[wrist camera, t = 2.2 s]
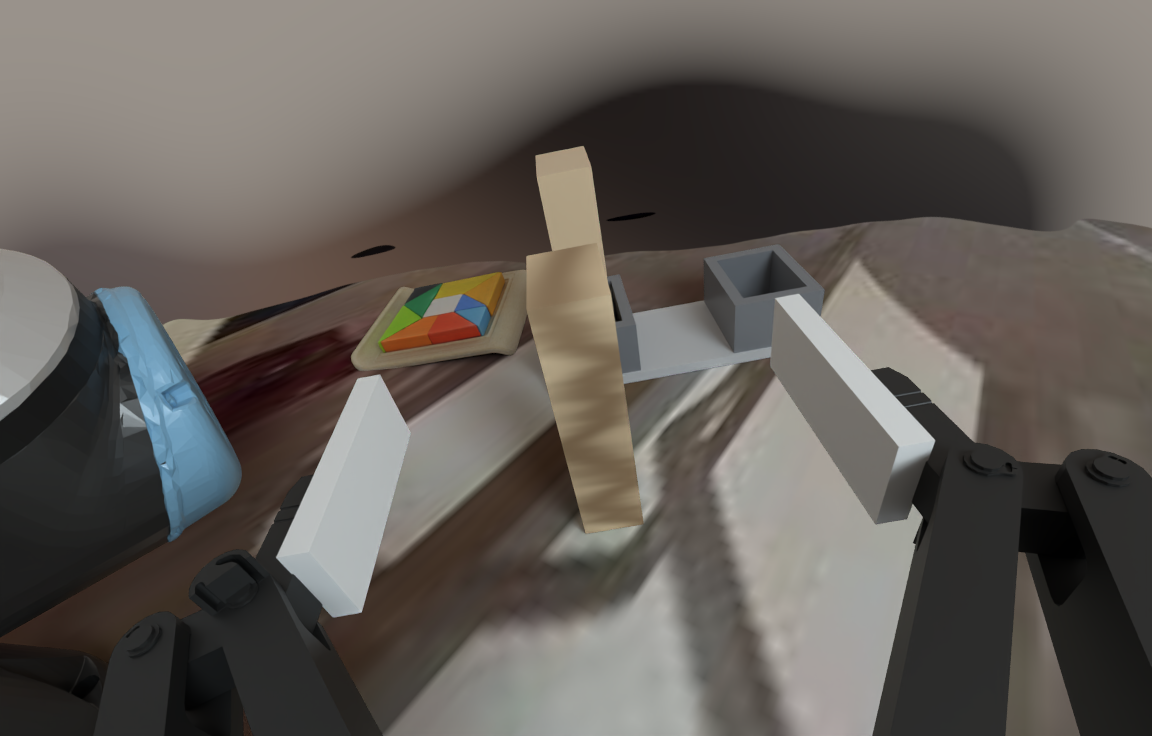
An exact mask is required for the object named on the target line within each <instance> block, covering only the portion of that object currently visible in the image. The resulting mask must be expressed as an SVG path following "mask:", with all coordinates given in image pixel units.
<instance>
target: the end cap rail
mask: <svg viewBox="0 0 1152 736" xmlns="http://www.w3.org/2000/svg"><path fill="white" fill-rule="evenodd" d="M536 170H537V180H538V185H539V190H540V194H541V199H542V204H543V209H544V213H545V218H546V223H547V227H548V232H549V237H550V241H551V247H552V251H556V250H561V249H567V248H572V247H577V246H582V245H588V244H593V243H597V246H598V249H599V253H600V257H601V260H602V264H603V267H604V271H605V274H606V278H607V282H608V285H609V289H610V292H611V297H612V304H613V311H614V318H615V326H616V333H617V340H618V347H619V354H620V361H621V368H622V375H623V382H624V384H626V383H631V382H637V381H642V380H648V379H653V378H659V377H664V376H670V375H675V374H681V373H686V372H692V371H697V370H703V369H708V368H714V367H720V366H725V365H731V364H736V363H742V362H747V361H753V360H758V359H764V358H769V357H771V347H772V333H773V319H774V305H775V298H779V297H784V296H789V295H794V294H800V295H801V296H802V298H803V299H804V300H805V301H806V302H807V303H808V304H809V305H810V306H811V307H812V308H813V309H814V310H815V312H816V313H817V314H818V315H819V316H821V310H822V303H823V297H824V289H823V288H822V287H821V286H820V285H819V284H818V283H817V282H816V281H815V280H814V279H813V278H812V277H811V276H810V275H809V274H808V273H807V272H806V271H805V270H804V269H803V268H802V267H801V266H800V265H799V264H798V263H797V262H796V261H795V260H794V259H793V258H792V257H791V256H790V255H789V254H788V253H787V252H786V251H785V250H784V249H783V248H782V247H781V246H780V245H779V244H777V245H772V246H767V247H762V248H756V249H751V250H746V251H740V252H735V253H730V254H725V255H719V256H714V257H709V258H704V301H698V302H693V303H687V304H682V305H677V306H671V307H666V308H661V309H655V310H650V311H644V312H639V313H634V314H632V311H631V308H630V305H629V302H628V299H627V296H626V293H625V290H624V287H623V284H622V280H621V277H620V274H619V275H614V276H608V277H607V273H606V266H605V259H604V252H603V245H602V238H601V232H600V225H599V218H598V211H597V204H596V197H595V190H594V183H593V177H592V169H591V165H590V162H589V159H588V157H587V154H586V151H585V149H584V146H581V147H577V148H572V149H566V150H561V151H556V152H551V153H546V154H541V155H536Z"/></svg>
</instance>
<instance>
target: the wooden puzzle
mask: <svg viewBox="0 0 1152 736" xmlns="http://www.w3.org/2000/svg"><path fill="white" fill-rule="evenodd" d="M526 303H527V271H526V270H516V271H511V272H506V273H501V272H497V273H492V274H487V275H482V276H477V277H472V278H467V279H463V280H458V281H453V282H448V283H444V284H443V283H440V284H434V285H429V286H424V287H419V288H415V289H411V288H407V287H402V288H399V290H398V291H397V292H396V294H395V295H394V296H393V298H392V299H391V300H390V302H389V303H388V305H387V306H386V307H385V309H384V310H383V311H382V313H381V314H380V315H379V317H378V318H377V320H376V321H375V322H374V324H373V325H372V327H371V328H370V329H369V331H368V332H367V334H366V335H365V336H364V338H363V339H362V341H361V342H360V343H359V345H358V346H357V348H356V349H355V350H354V352H353V353H352V355H351V361H352V363H353V365H354V366H355V368H356V369H358V370H359V371H369V370H381V369H392V368H400V367H408V366H415V365H421V364H427V363H433V362H439V361H445V360H451V359H457V358H464V357H470V356H476V355H482V354H488V353H500V354H505V355H513V354H514V353H515V352H516V350H517V347H518V344H519V341H520V337H521V334H522V331H523V327H524V324H525V321H526V317H527V310H526Z"/></svg>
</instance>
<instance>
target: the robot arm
mask: <svg viewBox="0 0 1152 736" xmlns="http://www.w3.org/2000/svg"><path fill="white" fill-rule="evenodd" d="M770 367H771V368H772V370H773V371H774V373H775V374H776V376H777V377H778V379H779V380H780V382H781V383H782V385H783V386H784V388H785V389H786V391H787V392H788V394H789V395H790V397H791V398H792V400H793V401H794V403H795V404H796V406H797V407H798V409H799V410H800V412H801V413H802V415H803V416H804V418H805V419H806V421H807V422H808V424H809V425H810V427H811V428H812V430H813V431H814V433H815V434H816V436H817V437H818V439H819V440H820V442H821V443H822V445H823V446H824V448H825V449H826V451H827V452H828V454H829V455H830V457H831V458H832V460H833V461H834V463H835V464H836V466H837V467H838V469H839V470H840V472H841V473H842V475H843V476H844V478H845V479H846V481H847V482H848V484H849V485H850V487H851V488H852V490H853V491H854V493H855V494H856V496H857V497H858V499H859V500H860V502H861V503H862V505H863V506H864V508H865V509H866V511H867V512H868V514H869V515H870V517H871V518H872V520H873V521H874V523H875V524H881V523H887V522H892V521H898V520H904V519H907V518H908V515H909V512H910V509H911V507H912V504H913V505H914V506H915V507H916V508H917V510H918V511H919V512H920V514H921V515H922V516H923V519H922V521H921V524H920V526H919V529H918V531H917V534H916V537H915V539H914V542H913V543H914V544H916V545H915V550H914V554H913V559H912V563H911V567H910V572H909V576H908V581H907V585H906V590H905V594H904V598H903V603H902V607H901V612H900V616H899V620H898V625H897V629H896V634H895V638H894V643H893V647H892V651H891V656H890V660H889V665H888V669H887V673H886V678H885V682H884V687H883V691H882V696H881V700H880V704H879V709H878V713H877V718H876V722H875V727H874V731H873V735H872V736H1005V732H1006V717H1007V703H1008V689H1009V675H1010V661H1011V646H1012V632H1013V618H1014V604H1015V590H1016V575H1017V561H1018V552H1025V553H1026V557H1027V560H1028V563H1029V567H1030V570H1031V573H1032V577H1033V580H1034V583H1035V587H1036V590H1037V593H1038V597H1039V600H1040V603H1041V607H1042V610H1043V613H1044V616H1045V620H1046V623H1047V626H1048V630H1049V633H1050V636H1051V640H1052V643H1053V646H1054V650H1055V653H1056V656H1057V660H1058V663H1059V666H1060V670H1061V673H1062V676H1063V680H1064V683H1065V686H1066V689H1067V693H1068V696H1069V699H1070V703H1071V706H1072V709H1073V713H1074V716H1075V719H1076V723H1077V726H1078V729H1079V733H1080V736H1152V478H1151V476H1150V475H1149V474H1148V473H1147V472H1146V471H1145V470H1144V469H1143V468H1142V467H1140V466H1139V465H1137V464H1135V463H1134V462H1132V461H1131V460H1129V459H1127V458H1124V457H1122V456H1119V455H1117V454H1114V453H1111V452H1106V451H1101V450H1097V449H1081V450H1078V451H1074V452H1071V453H1070V454H1069V455H1068V456H1067V458H1066V459H1065V460H1064V462H1063V464H1062V465H1057V464H1043V463H1028V462H1019V461H1016V460H1015V459H1014V458H1013V457H1012V456H1010V455H1009V454H1007V453H1006V452H1004V451H1003V450H1001V449H998V448H995V447H993V446H990V445H987V444H981V443H974V442H973V441H972V440H971V439H970V438H969V437H968V436H967V435H966V434H965V433H964V432H963V431H962V430H961V429H960V428H959V427H958V426H957V425H956V424H955V423H954V422H953V421H952V420H951V419H949V418H948V417H947V416H946V415H945V414H944V413H943V412H942V411H941V410H940V409H939V408H938V407H937V406H936V405H935V404H934V403H933V404H932V402H931V400H930V399H929V398H928V397H927V396H926V395H925V394H924V393H921V390H920V389H919V388H918V387H917V386H916V385H915V384H914V383H913V382H912V381H911V380H910V379H909V378H908V377H906V376H904V375H902V374H901V373H899V372H897V371H895V370H893V369H891V368H889V367H887V368H881V369H876V370H871V371H870V370H869V368H868V367H867V366H866V365H865V364H864V363H863V362H862V361H861V360H860V359H859V358H858V357H857V356H856V354H855V353H854V352H853V351H852V350H851V349H850V348H849V347H848V346H847V345H846V344H845V343H844V342H843V341H842V339H841V338H840V337H839V336H838V335H837V334H836V333H835V332H834V331H833V330H832V329H831V328H830V327H829V325H828V324H827V323H826V322H825V321H824V320H823V319H822V318H821V317H820V316H819V315H818V314H817V313H816V312H815V310H814V309H813V308H812V307H811V306H810V305H809V304H808V303H807V302H806V301H805V300H804V299H803V298H802V296H801V295H800V294H794V295H789V296H784V297H779V298H775V305H774V319H773V333H772V347H771V361H770ZM410 434H411V433H410V431H409V429H408V427H407V425H406V423H405V421H404V420H403V418H402V416H401V414H400V412H399V410H398V408H397V406H396V404H395V402H394V401H393V399H392V397H391V395H390V393H389V391H388V389H387V387H386V385H385V383H384V382H383V380H382V378H381V376H380V375H375V376H369V377H364V378H359V379H357V381H356V383H355V386H354V388H353V390H352V392H351V394H350V397H349V399H348V401H347V403H346V405H345V408H344V410H343V412H342V414H341V416H340V419H339V421H338V423H337V425H336V427H335V430H334V432H333V434H332V436H331V438H330V440H329V443H328V445H327V447H326V449H325V451H324V454H323V456H322V458H321V460H320V462H319V465H318V467H317V469H316V471H315V473H314V475H309V476H304V477H301V478H300V479H299V481H298V482H297V483H296V484H295V485H294V486H293V487H292V488H291V489H290V491H289V492H288V493H287V495H286V497H285V499H284V501H283V503H282V505H281V507H280V509H281V511H279V512H278V514H277V516H276V518H275V520H274V524H272V526H271V528H270V530H269V532H268V534H267V536H266V538H265V540H264V542H263V544H262V546H261V548H260V550H259V552H258V554H257V556H256V558H255V559H254V558H253V557H252V556H251V555H250V554H249V553H248V552H247V551H246V550H238V549H236V550H233V551H229V552H226V553H224V554H222V555H220V556H218V557H216V558H215V559H213V560H212V561H211V562H209V563H208V564H207V565H206V566H205V567H203V568H202V570H201V571H200V572H199V573H198V574H197V576H196V577H195V578H194V580H193V582H192V584H191V586H190V588H189V598H190V599H191V600H192V601H193V602H195V603H196V604H197V605H198V606H200V607H201V608H202V609H203V610H201V611H198V612H196V613H194V614H192V615H190V616H187V617H185V618H183V619H181V620H180V619H179V618H178V617H176V616H175V615H173V614H172V613H170V612H158V613H155V614H153V615H150V616H148V617H146V618H144V619H143V620H141V621H140V622H138V623H137V624H135V625H134V626H133V627H132V628H131V629H130V630H129V631H128V632H127V633H126V634H124V635H123V637H122V638H121V639H120V641H119V642H118V643H117V645H116V646H115V647H114V650H113V652H112V655H111V657H110V660H109V664H108V663H106V662H104V661H102V660H101V659H99V658H97V657H95V656H93V655H91V654H87V653H84V652H81V651H75V650H67V649H57V648H46V647H36V646H25V645H15V644H4V643H0V736H243V708H244V711H245V714H246V717H247V720H248V723H249V726H250V728H251V731H252V734H253V736H383V735H382V733H381V731H380V730H379V728H378V726H377V724H376V722H375V720H374V719H373V717H372V715H371V713H370V711H369V710H368V708H367V706H366V704H365V702H364V701H363V699H362V697H361V695H360V693H359V692H358V690H357V688H356V686H355V684H354V682H353V681H352V679H351V677H350V675H349V673H348V672H347V670H346V668H345V666H344V664H343V663H342V661H341V659H340V657H339V655H338V653H337V652H336V650H335V648H334V646H333V644H332V643H331V641H330V639H329V637H328V635H327V634H326V632H325V630H324V628H323V627H322V626H321V625H320V624H319V623H318V622H317V620H318V617H319V614H320V611H321V609H322V606H323V608H324V609H325V610H326V611H327V612H328V613H329V614H330V615H331V616H332V617H339V616H345V615H351V614H357V613H362V610H363V606H364V602H365V599H366V595H367V591H368V588H369V584H370V580H371V577H372V573H373V569H374V566H375V562H376V558H377V555H378V551H379V547H380V544H381V540H382V537H383V533H384V529H385V526H386V522H387V518H388V515H389V511H390V507H391V504H392V500H393V496H394V493H395V489H396V485H397V482H398V478H399V474H400V471H401V467H402V464H403V460H404V456H405V453H406V449H407V445H408V442H409V438H410ZM241 477H242V471H241V466H240V463H239V460H238V458H237V456H236V454H235V452H234V450H233V448H232V446H231V444H230V442H229V440H228V438H227V436H226V434H225V432H224V431H223V429H222V427H221V425H220V423H219V422H218V420H217V418H216V416H215V414H214V412H213V411H212V409H211V407H210V405H209V404H208V402H207V400H206V398H205V397H204V395H203V393H202V391H201V390H200V388H199V386H198V384H197V383H196V381H195V379H194V377H193V376H192V374H191V372H190V371H189V369H188V367H187V366H186V364H185V362H184V361H183V359H182V357H181V356H180V354H179V352H178V350H177V349H176V347H175V345H174V344H173V342H172V340H171V339H170V337H169V335H168V334H167V332H166V330H165V329H164V327H163V325H162V324H161V322H160V321H159V319H158V317H157V316H156V315H155V313H154V311H153V310H152V308H151V307H150V306H149V304H148V303H147V301H146V300H145V299H144V298H143V297H142V295H141V293H140V292H138V291H137V290H136V289H133V288H131V287H117V288H113V289H108V288H99V289H98V290H96V291H95V292H93V293H91V295H89V296H88V297H85V296H84V295H83V294H82V293H81V292H80V291H79V290H78V289H77V288H76V287H75V286H74V285H73V284H72V283H71V282H70V281H69V280H68V279H67V278H66V277H65V276H64V275H63V274H61V273H60V272H59V271H57V270H56V269H55V268H54V267H52V266H51V265H50V264H49V263H47V262H45V261H43V260H41V259H39V258H36V257H34V256H32V255H28V254H24V253H21V252H17V251H11V250H5V249H0V637H2V636H3V635H5V634H7V633H9V632H10V631H12V630H14V629H16V628H17V627H19V626H21V625H23V624H24V623H26V622H28V621H30V620H31V619H33V618H35V617H37V616H38V615H40V614H42V613H44V612H45V611H47V610H49V609H51V608H52V607H54V606H56V605H58V604H59V603H61V602H63V601H65V600H66V599H68V598H70V597H72V596H73V595H75V594H77V593H79V592H80V591H82V590H84V589H86V588H87V587H89V586H91V585H93V584H94V583H96V582H98V581H100V580H101V579H103V578H105V577H107V576H108V575H110V574H112V573H114V572H115V571H117V570H119V569H121V568H122V567H124V566H126V565H128V564H129V563H131V562H133V561H135V560H136V559H138V558H140V557H142V556H143V555H145V554H147V553H149V552H150V551H152V550H154V549H156V548H157V547H159V546H161V545H163V544H164V543H166V542H171V541H173V540H175V539H177V538H178V537H179V536H180V535H181V534H182V531H183V530H184V529H185V528H187V527H188V526H190V525H191V524H193V523H194V522H196V521H198V520H199V519H201V518H202V517H204V516H205V515H207V514H208V513H210V512H211V511H213V510H214V509H216V508H218V507H219V506H221V505H222V504H224V503H225V502H227V501H228V500H229V499H230V498H231V497H232V496H233V495H234V494H235V492H236V491H237V489H238V487H239V485H240V482H241Z"/></svg>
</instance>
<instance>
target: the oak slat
mask: <svg viewBox="0 0 1152 736" xmlns="http://www.w3.org/2000/svg"><path fill="white" fill-rule="evenodd" d="M526 310H527V314H528V318H529V322H530V325H531V329H532V333H533V337H534V340H535V344H536V348H537V352H538V356H539V359H540V363H541V367H542V371H543V374H544V378H545V382H546V386H547V390H548V393H549V397H550V401H551V405H552V408H553V412H554V416H555V420H556V424H557V427H558V431H559V435H560V439H561V442H562V446H563V450H564V454H565V457H566V461H567V465H568V469H569V473H570V476H571V480H572V484H573V488H574V491H575V495H576V499H577V503H578V507H579V510H580V514H581V518H582V522H583V525H584V529H585V533H586V534H588V533H594V532H600V531H606V530H612V529H618V528H624V527H630V526H636V525H642V524H643V517H642V510H641V503H640V496H639V488H638V481H637V474H636V467H635V460H634V453H633V446H632V439H631V432H630V425H629V418H628V411H627V403H626V396H625V389H624V382H623V375H622V368H621V361H620V354H619V347H618V340H617V333H616V326H615V318H614V311H613V304H612V297H611V292H610V289H609V285H608V282H607V278H606V274H605V271H604V267H603V264H602V260H601V257H600V253H599V249H598V246H597V243H593V244H588V245H582V246H577V247H572V248H567V249H561V250H556V251H551V252H546V253H541V254H535V255H530V256H527V303H526Z"/></svg>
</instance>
